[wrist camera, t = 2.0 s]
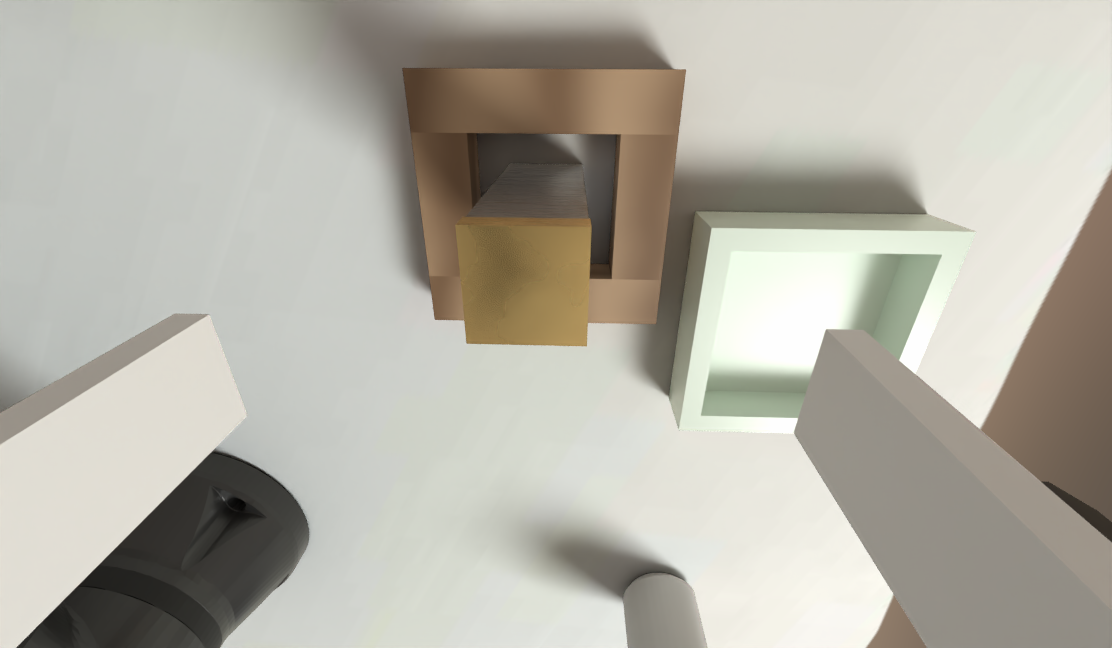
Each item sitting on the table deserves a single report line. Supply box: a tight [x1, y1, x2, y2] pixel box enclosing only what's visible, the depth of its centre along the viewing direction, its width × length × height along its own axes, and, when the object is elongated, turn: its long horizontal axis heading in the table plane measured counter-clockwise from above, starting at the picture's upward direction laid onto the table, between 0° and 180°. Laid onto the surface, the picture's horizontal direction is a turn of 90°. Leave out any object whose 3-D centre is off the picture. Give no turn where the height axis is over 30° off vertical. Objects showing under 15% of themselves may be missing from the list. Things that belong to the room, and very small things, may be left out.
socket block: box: [402, 68, 686, 324], centre depth 25 cm, size 13×13×2 cm
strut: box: [455, 163, 592, 346], centre depth 21 cm, size 4×4×13 cm
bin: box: [669, 211, 976, 433], centre depth 28 cm, size 13×13×4 cm
